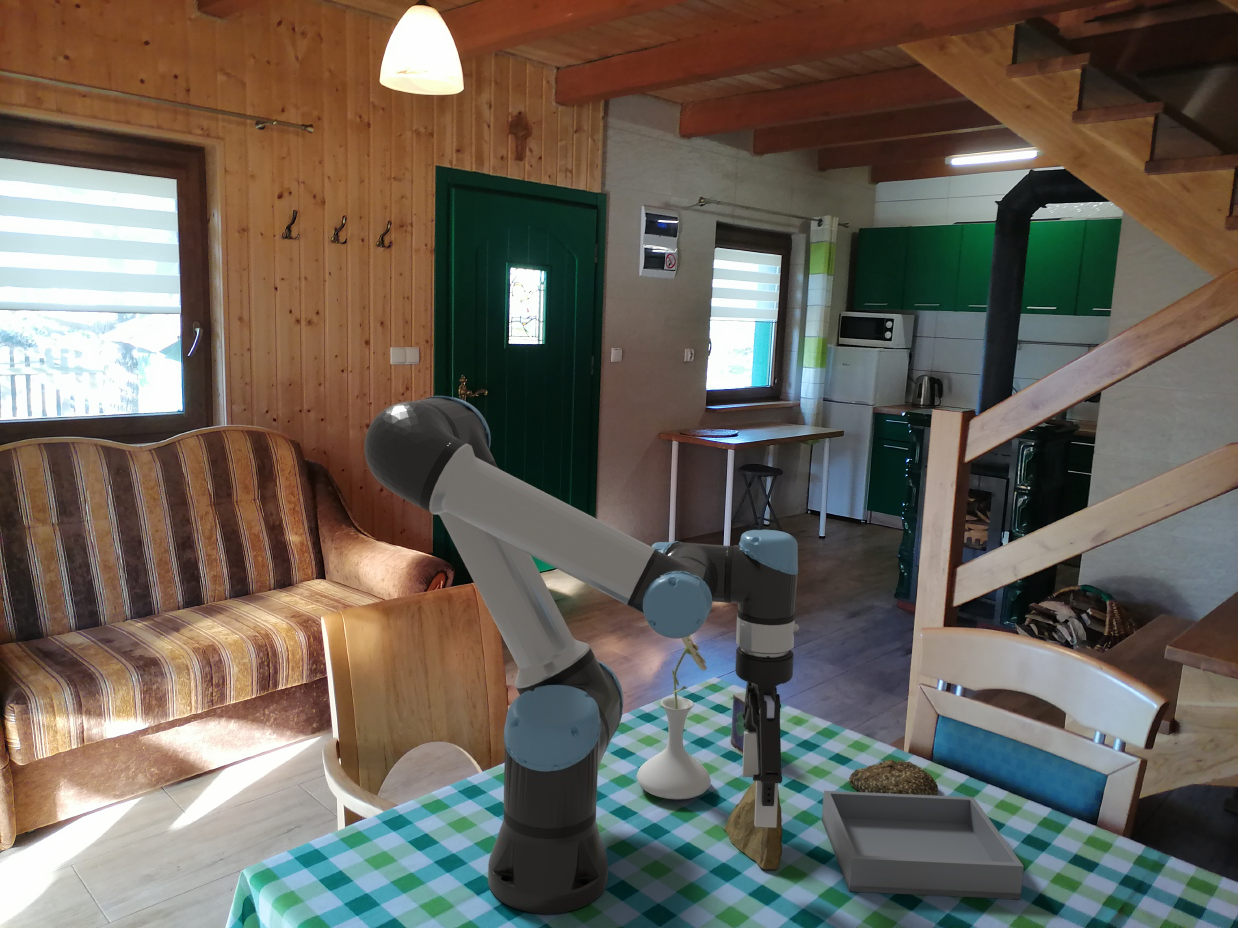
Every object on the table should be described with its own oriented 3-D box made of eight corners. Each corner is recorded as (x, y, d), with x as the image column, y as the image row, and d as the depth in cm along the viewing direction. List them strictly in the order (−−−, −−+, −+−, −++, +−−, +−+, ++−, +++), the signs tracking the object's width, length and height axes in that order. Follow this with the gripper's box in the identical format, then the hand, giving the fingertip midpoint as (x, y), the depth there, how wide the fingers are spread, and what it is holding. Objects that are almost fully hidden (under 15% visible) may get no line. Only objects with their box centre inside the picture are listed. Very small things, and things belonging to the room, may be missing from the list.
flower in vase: (707, 811, 137) (717, 647, 133) (631, 802, 138) (637, 640, 135) (713, 770, 149) (721, 620, 146) (642, 763, 151) (649, 614, 148)
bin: (849, 891, 118) (851, 858, 117) (821, 819, 135) (823, 790, 135) (1020, 899, 118) (1023, 865, 117) (970, 826, 135) (973, 797, 134)
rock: (801, 862, 120) (804, 814, 129) (763, 810, 119) (769, 766, 129) (732, 893, 124) (740, 844, 133) (695, 843, 123) (705, 798, 132)
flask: (727, 741, 160) (731, 682, 159) (742, 740, 161) (746, 680, 160) (753, 765, 152) (757, 703, 150) (769, 763, 153) (773, 701, 151)
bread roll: (903, 819, 137) (906, 787, 136) (837, 785, 147) (840, 755, 146) (954, 797, 144) (957, 766, 144) (889, 765, 154) (891, 737, 154)
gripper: (811, 683, 110) (802, 850, 113) (779, 620, 135) (772, 758, 138) (747, 681, 111) (740, 848, 113) (727, 618, 135) (722, 757, 138)
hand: (758, 799), depth 126 cm, fingers open, 13 cm apart
